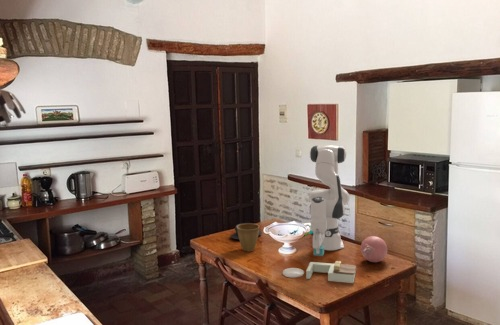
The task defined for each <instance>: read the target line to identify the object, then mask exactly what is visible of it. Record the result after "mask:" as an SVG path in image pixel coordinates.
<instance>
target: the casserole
mask: <svg viewBox="0 0 500 325" xmlns="http://www.w3.org/2000/svg"><path fill="white" fill-rule="evenodd" d="M241 224H254V222H253V223H251V222H244V223H238V224H236V225H235V227H234V231H235V233H233V234H231V235H229V236H230V238H231V239H233V240H239V236H238V232H237V226H238V225H241ZM261 234H263V231H262V230H259V233H258V236H260V235H261Z"/></svg>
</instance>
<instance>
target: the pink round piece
mask: <svg viewBox="0 0 500 325" xmlns="http://www.w3.org/2000/svg"><path fill="white" fill-rule="evenodd" d="M360 253H361V256H362V257H363V258H364V259H365V260H366V261H368V262H371V263H380V262H381V261H383V260H384V259H385V258H386V257H387V254H388V246H387V243H386V241H385V240H384V239H382V238H381V237H379V236H375V235H372V236H368V237H366V238H365V239H364V240H362V242H361V244H360Z"/></svg>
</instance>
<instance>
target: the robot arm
mask: <svg viewBox="0 0 500 325" xmlns="http://www.w3.org/2000/svg"><path fill="white" fill-rule="evenodd" d="M309 158H310V161H312V162H313V163H315V170H314V171H315V176H316V177H317V179H318V180H320V181H321V184H323V185H325V186H327V187H329V188H327V189H325V188H323V189H314V190H312V191H310V194H309V196H308V200H309V203H310V205H309V215H310V217H311V218H310V220H309V221H310V222H309V223H310V224H311V231H313V233H314V234H313V233H312V249H314V248H315V249H316V253H317V254H319V253H320V246H324V251H338V250H341V249H344V248H345V246H344V243H343V240H342V239H341V238H342V237H341V234H340V233H339V230H340V229H339V219H341V218H342V217H343V216H344V215H345V211H346V209H345V206H346V205H347V204H348V203H349V201H350V194H349V192H348V191H347V190H346V189H344V188H343V187H342V185H341V179H340V176H339V164H341V163H344V162H345V160H346V158H347V151H346V148H345V147H344V146H341V145H331V144H329V145H313V146H312V147H311V148H310V151H309Z"/></svg>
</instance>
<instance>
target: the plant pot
mask: <svg viewBox="0 0 500 325" xmlns="http://www.w3.org/2000/svg"><path fill="white" fill-rule="evenodd" d="M240 224H241V225H238V224H237V225H238V226H237V232H238V236H239V239H238V240H239V243H240V246H241V248H242V250H243V252H253V251H255V248H256V246H257V241H258V238H259V235H258V233H259V231H260V225H259V224H257V223H253V224H242V223H240Z"/></svg>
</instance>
